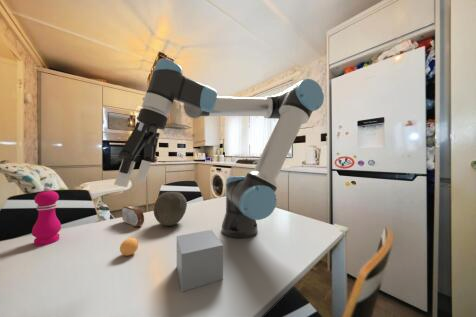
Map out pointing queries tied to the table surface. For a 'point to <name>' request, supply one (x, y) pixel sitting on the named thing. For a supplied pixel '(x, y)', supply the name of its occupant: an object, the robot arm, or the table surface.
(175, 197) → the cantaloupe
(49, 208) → the pepper mill
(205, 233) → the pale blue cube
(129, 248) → the ball
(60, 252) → the table surface
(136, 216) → the tin
